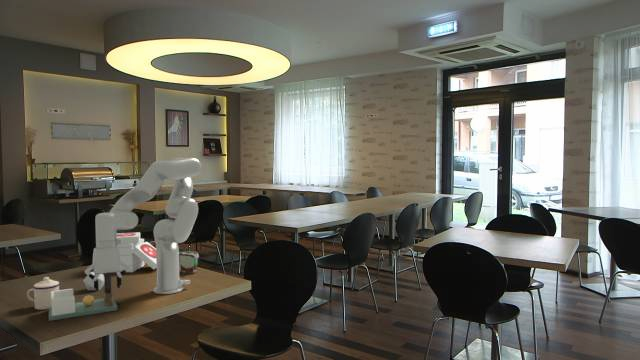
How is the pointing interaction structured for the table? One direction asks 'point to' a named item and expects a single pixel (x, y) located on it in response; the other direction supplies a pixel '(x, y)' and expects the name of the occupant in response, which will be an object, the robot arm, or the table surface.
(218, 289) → the table surface
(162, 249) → the robot arm
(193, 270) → the food container
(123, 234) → the pizza boxes
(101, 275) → the die
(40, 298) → the teacup with lid
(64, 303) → the game board
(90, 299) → the ball
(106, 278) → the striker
